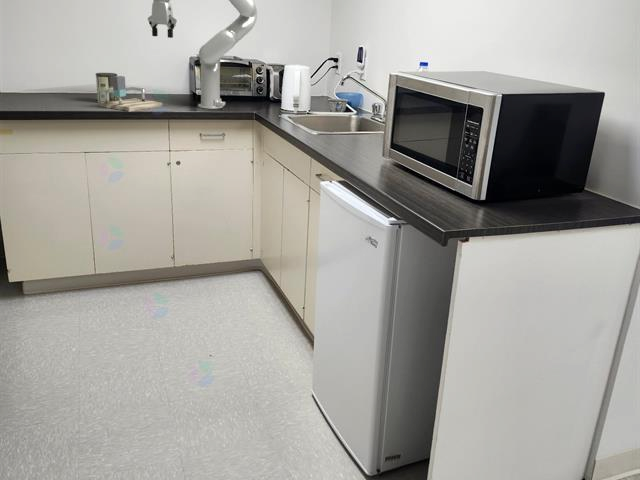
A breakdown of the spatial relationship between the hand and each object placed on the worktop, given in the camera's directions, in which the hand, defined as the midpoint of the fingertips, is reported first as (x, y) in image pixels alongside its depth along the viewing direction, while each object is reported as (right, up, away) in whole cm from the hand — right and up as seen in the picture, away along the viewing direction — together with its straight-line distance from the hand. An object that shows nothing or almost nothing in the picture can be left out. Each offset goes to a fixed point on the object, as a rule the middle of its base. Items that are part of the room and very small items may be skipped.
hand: (162, 36), depth 291 cm
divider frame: (-18, -32, 0) cm, 37 cm away
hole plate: (-15, -35, 0) cm, 38 cm away
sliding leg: (-18, -35, -8) cm, 40 cm away
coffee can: (-30, -31, +9) cm, 44 cm away
